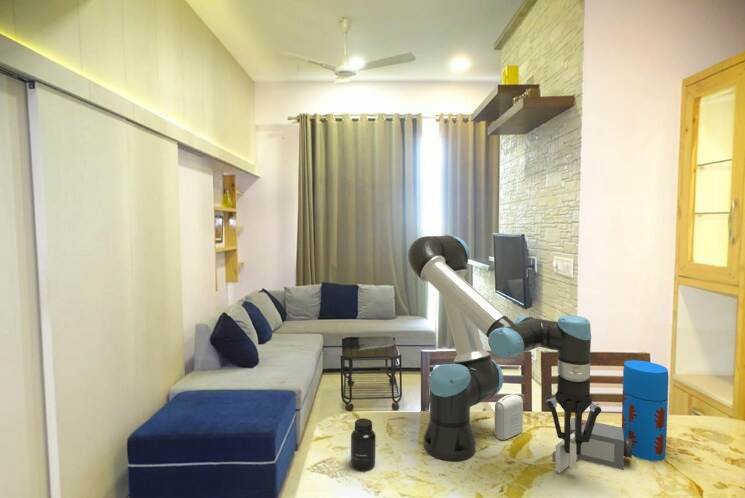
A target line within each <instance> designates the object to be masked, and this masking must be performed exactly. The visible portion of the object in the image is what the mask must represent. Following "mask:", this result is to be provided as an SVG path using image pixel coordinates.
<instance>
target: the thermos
mask: <svg viewBox="0 0 745 498" xmlns="http://www.w3.org/2000/svg"><path fill="white" fill-rule="evenodd" d="M622 372H623V373H622V374H623V375H622V400H621V401H622V403H621V406H622V407H621V428H623V435H624V437H627V438H632V457H635V458H637V459H640V460H644V461H648V462H649V461H650V462H661V461H663V460H664V459H665V458H666V451H667V435H668V434H667V433H668V407H669V405H668V404H669V403H668V402H669V379H670V378H669V369H668V368H667V367H666V366H664V365H661V364H658V363H655V362H652V361H651V362H650V361H647V360H646V361H644V360H634V359H633V360H627V361H624V364H623V371H622Z"/></svg>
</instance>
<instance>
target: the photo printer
mask: <svg viewBox="0 0 745 498" xmlns="http://www.w3.org/2000/svg"><path fill="white" fill-rule="evenodd" d="M523 400H524V399H523V398H522V397H521V396H520V395H518V394H508V395H505V396H501V398H500V399H498V400H497V401H496V402H495V404H494V435H495V437H496V438H497V439H499V440H502V441H503V440H508V439H510V438H513V437H515V436H517V435H519V434H521V433H523V430H524V429H523V425H524V424H523V423H524V422H523V419H524V417H523V416H524V415H523V414H524V401H523Z"/></svg>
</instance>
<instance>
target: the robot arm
mask: <svg viewBox="0 0 745 498" xmlns="http://www.w3.org/2000/svg"><path fill="white" fill-rule="evenodd" d="M407 253H408V255H407V258H408V264H409V266H410V268H411V270H412V271H413V272H414V273H415V275H416V276H417V277H418V278H419V279H420V280H421V281H422V282H425V283H428V282H429V284H431V286H433V287H434V288H435V289H436V290H437V291H438V292H439V293H440V294H441V296H442V300H443V303H444V304H443V305H444V308H445V311H446V312H445V313H446V317H447V319H448V323H449V324H448V325H449V328H450V332H451V337H452V340H453V345H454V347H455V352H456V356H455V358H454V359H453V363H449V364H447V363H445V364H444V363H443V364H440V365H438V366H437V367H435V368H434V369H432V371H431V373H430V376H429V377H430V378H429V382H428V383H429V384H428V385H429V386H428V387H429V420H428V423H427V427H426V431H425V433H424V435H423V447H424V449H425V452H427V453H428V454H429V455H431V456H432V457H435V458H438V459H441V460H444V461H447V462H448V461H449V462H450V461H451V462H458V461H465V460H468V459H470V458H472V457H473V456H474V455H475V453H476V450H477V449H476V447H477V443H476V439H475V434H474V432H473V430H472V426H471V423H470V422H471V421H470V420H471V415H470V414H471V407H473V406H475V405H477V404H480V403H482V402H484V401H487V400H489V399H492V398H494V396H496V395H497V394H499V392H500V391H501V389H502V388H503V384H504V375H503V370H502V368H501V366H500V365H499V364H498V363H496V361H495V360H494V359H492V358H491V353H492V354H493V355H494V356H495V357H498V358H500V359H510V358H516V357H518V356H520V355H522V354H524V353H526V352H529V351H532V350H534V349H537V348H543V349H546V350H547V349H548V350H552V351H556V352H557V374H558V375H557V385H556V386H557V387H556V388H557V390H556V393H555V395H554V396H553V397H551V398H550V397H547V398H546V401H545V402H546V405H547V406H548V408H549V409H550V411H551V415H552V420H553V423H554V426H555V427H554V428H555V431H556V435H557V438H558V439H560V440H562V441H563V440H564V450H565V453H569V455H568V462H569V466H568V467H569V468H570V469H575V470H576V469H577V460H576V455H580V454H581V444H582V442H589V440H590V437H591V434H592V430H593V427H594V424H595V422H596V420H597V417H598V416H599V414H601V412H602V408H601V406H600V404H598V403H595V402H594V401H593V400H592V397H591V395H590V393H591V389H590V388H591V380H590V378H591V344H592V332H591V330H592V329H591V321H590V320H589V319H588V318H586V317H585V316H584V317H583V316H580V315H571V314H570V315H569V314H568V315H567V314H566V315H565V314H564V315H561V316H559V317H558V320H557V321H554V320H550V319H549V320H548V319H542V318H537V317H533V316H523V315H521V316H518V317H517V318H516V319H515V321H512V320H511V319H510V318H509V317H508V316H506V314H504V313H503V312H502V311H500V309H498V307H496V306H495V305H494V304H493V303H491V301H489V299H487V298H486V297H485V296H483V295H482V294H481V292H479V291H478V290H476V288H475V287H473V286H472V285H471V284H470V283H469V282H467V281H466V278H465V277H466V274H467V272H468V268H467V265H468V263H469V259H470V256H471V255H470V249H469V247H468V245H467V243H466V241H464V240H463V239H462V238H460V237H459V236H454V235H448V234H447V235H435V236H434V235H430V236H428V235H426V236H420V237H419V238H417V239H415V240H414V241H413V242H412V243H411V245H410V247H409V249H408V252H407ZM480 332H481V333H482V334H483V335H485V336H486V338H487V341H488V343H487V344H488V347H489V348H490V351H491V353H490V352H488V351H487V350H485V349H484V346H483V343H482V339H481V338H482V337H481V335H480ZM557 403H558V404H559V406H560V407H561V409H562V410H563V412H564V415H563V418H564V419H563V420H564V421H563V422H564V423H563V431H562V428H561V425H560V424H561V423H560V421H559V417H558V416H559V415H558V413H557V412H558V411H557V409H556V407H557V406H558V404H557ZM588 408H589V412H588V416H587V418H586V420H587V422H586V425H585V428H584V431H583V435H581V434H582V420H583V413H584V412H585V411H586V410H587V409H588ZM572 413H574V418H575V439H573V438H570V429H571V418H572Z"/></svg>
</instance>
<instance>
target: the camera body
mask: <svg viewBox="0 0 745 498" xmlns="http://www.w3.org/2000/svg"><path fill="white" fill-rule="evenodd" d="M586 422H587V419H582V434H581V435H583V431H584V428H585V425H586ZM573 432H575V417H571V429H570V435H571V434H572V433H573ZM624 457H626V458H629V459H632V458H633V455H632V438H627V437H624V435H623V428H622V426H621V427H619V426H616V425H612V424H611V425H610V424H608V423H600V422H596V421H595V424H594V427H593V430H592V434H591V437H590V440H589V442H582V444H581V454H580V455H578V460H582V461H586V462H591V463H595V464H598V465H602V466H606V467H610V468H614V469H618V470H622V471H623V470H624Z"/></svg>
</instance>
